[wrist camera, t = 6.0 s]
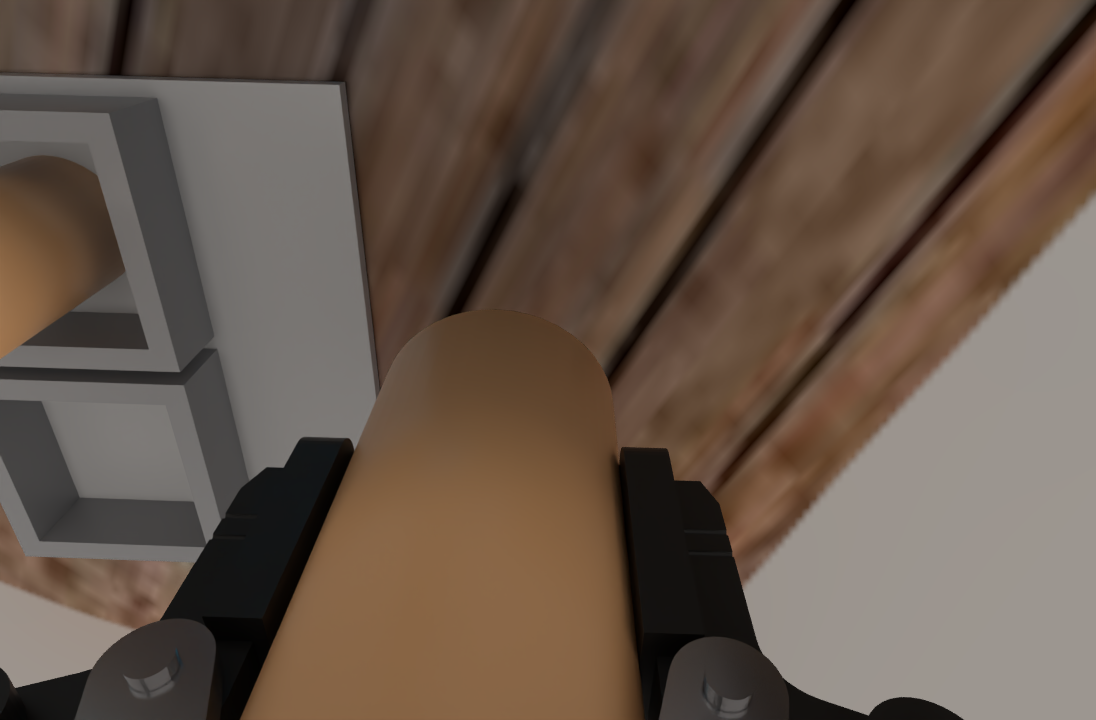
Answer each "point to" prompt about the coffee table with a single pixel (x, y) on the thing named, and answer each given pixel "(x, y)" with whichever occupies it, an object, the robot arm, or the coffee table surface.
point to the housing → (171, 301)
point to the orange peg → (469, 545)
